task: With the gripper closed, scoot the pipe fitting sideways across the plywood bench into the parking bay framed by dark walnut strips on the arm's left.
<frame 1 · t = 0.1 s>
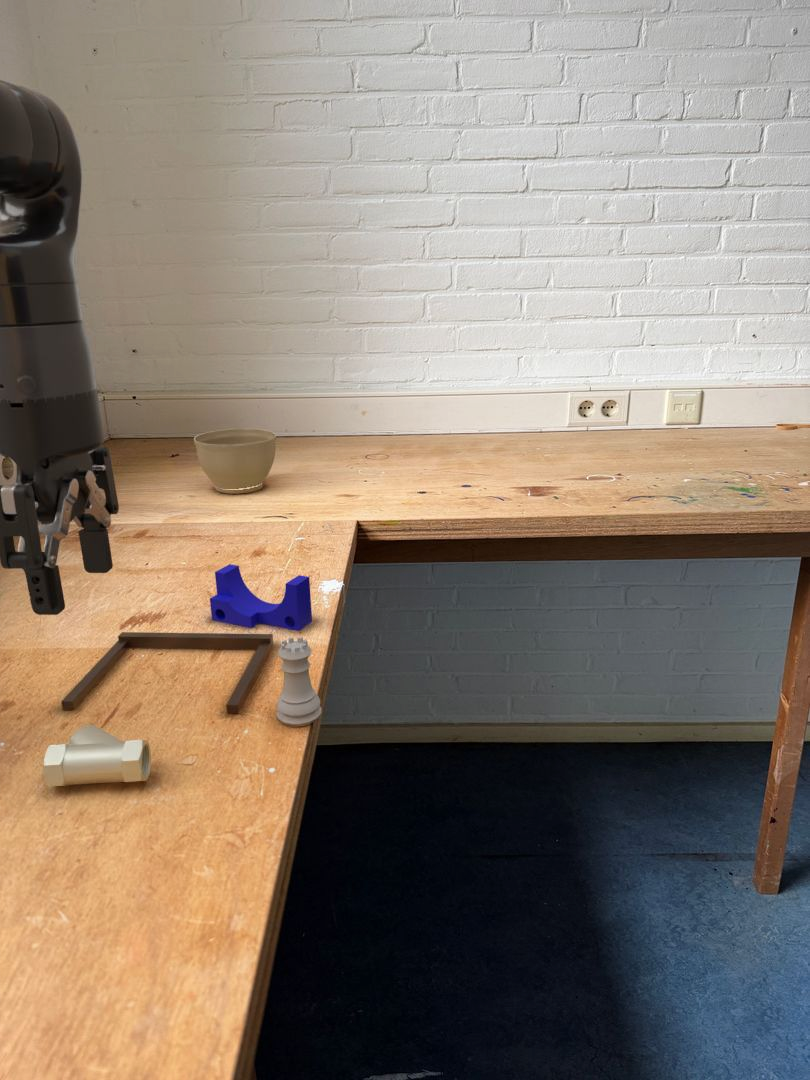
hand: (76, 591, 64), 18 cm above the table, tool pointing down, fingers open, 8 cm apart
rook chess piece: (299, 717, 79), on the table
planter bowl: (240, 489, 162), on the table
pipe fitting: (107, 772, 71), on the table
blue saddle bracket: (261, 622, 100), on the table
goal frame: (174, 678, 87), on the table
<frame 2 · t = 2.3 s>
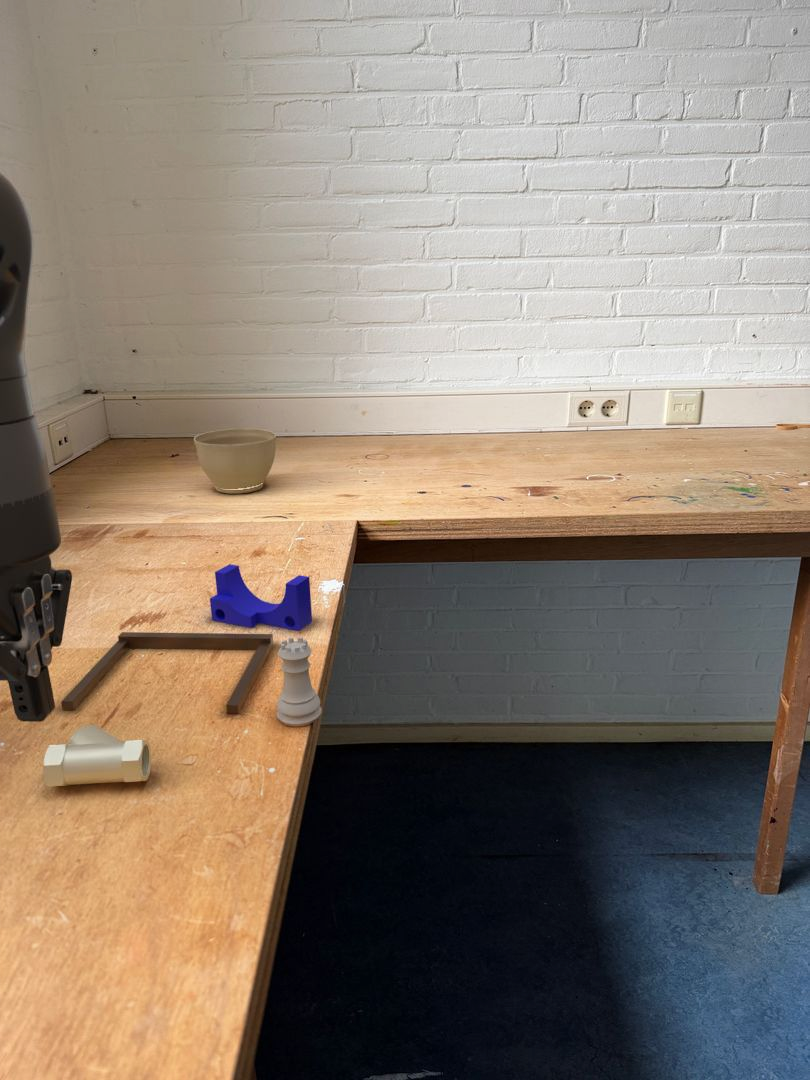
hand: (36, 716, 59), 11 cm above the table, tool pointing down, fingers closed
nothing on the table moved.
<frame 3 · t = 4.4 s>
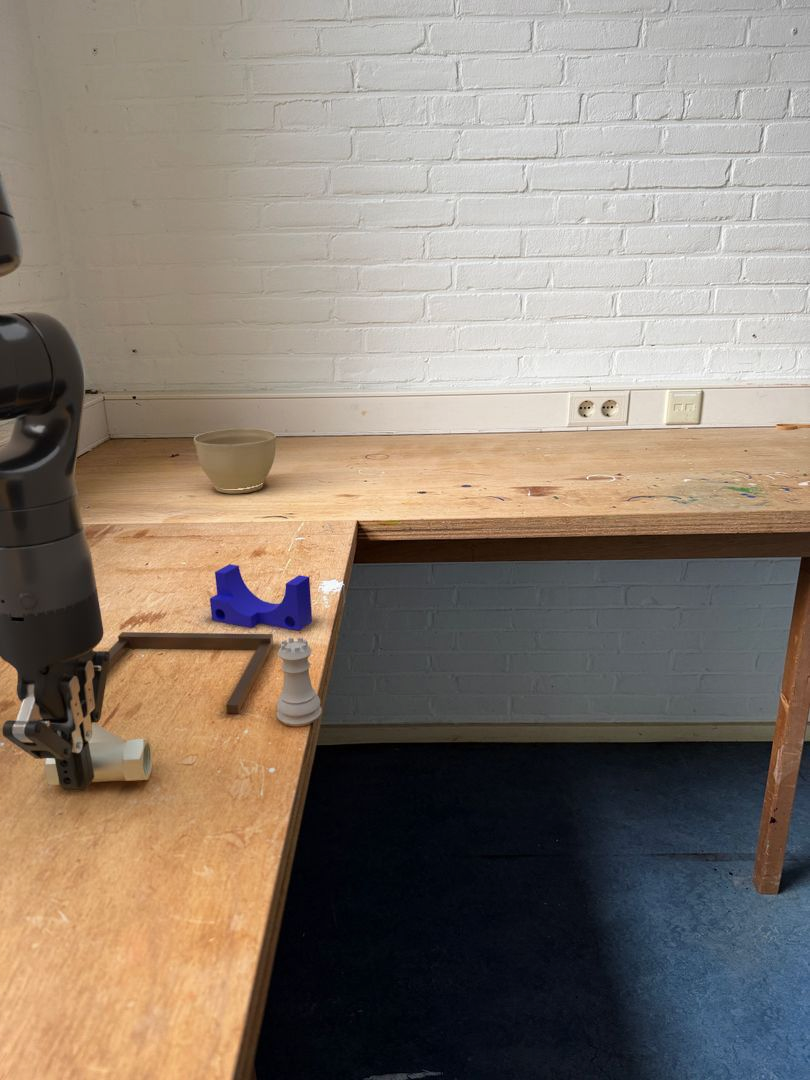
hand: (78, 785, 65), 2 cm above the table, tool pointing down, fingers closed
pipe fitting: (109, 771, 71), on the table, touching gripper
everything else where it was.
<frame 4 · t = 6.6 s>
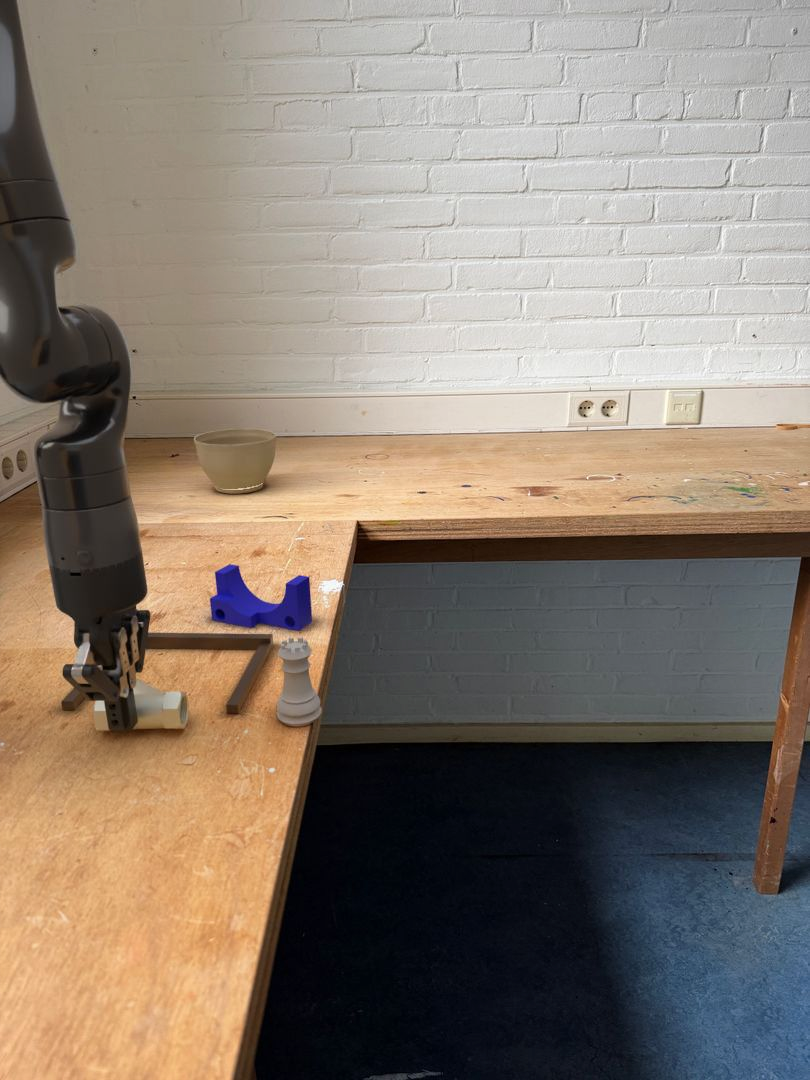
hand: (123, 728, 73), 2 cm above the table, tool pointing down, fingers closed
pipe fitting: (149, 721, 79), on the table, touching gripper
everything else where it was.
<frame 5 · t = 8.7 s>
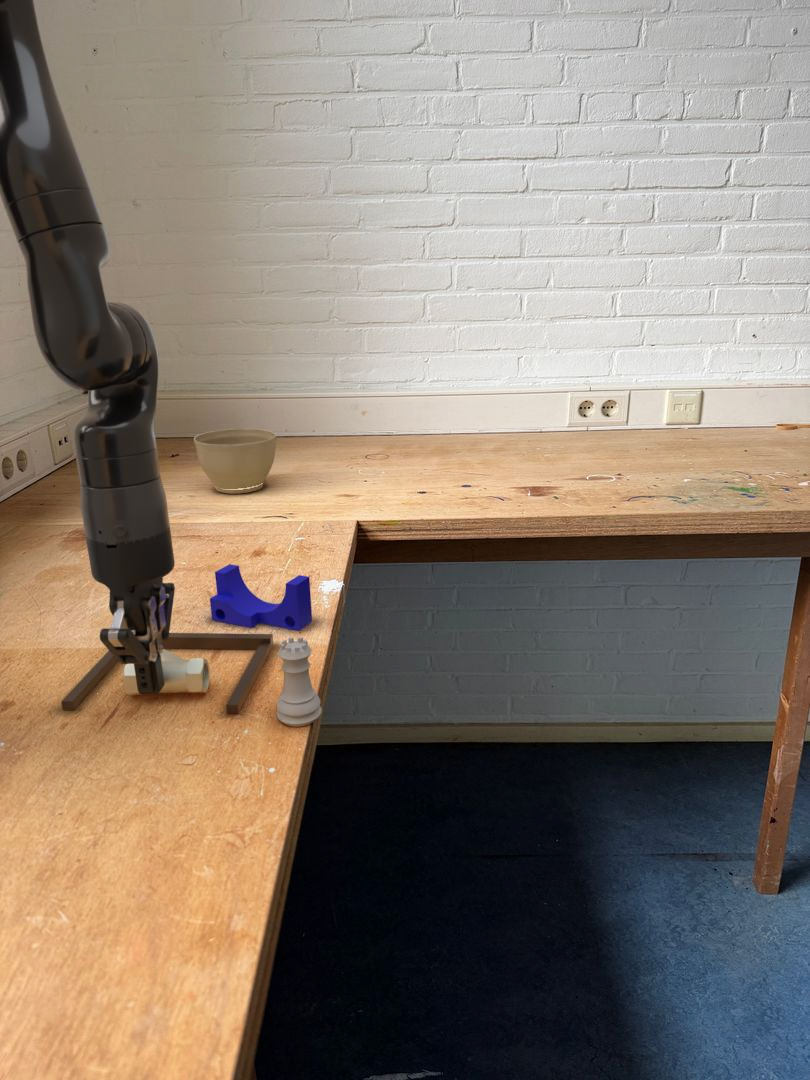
hand: (151, 690, 80), 2 cm above the table, tool pointing down, fingers closed
pipe fitting: (173, 687, 85), on the table, touching gripper
everything else where it was.
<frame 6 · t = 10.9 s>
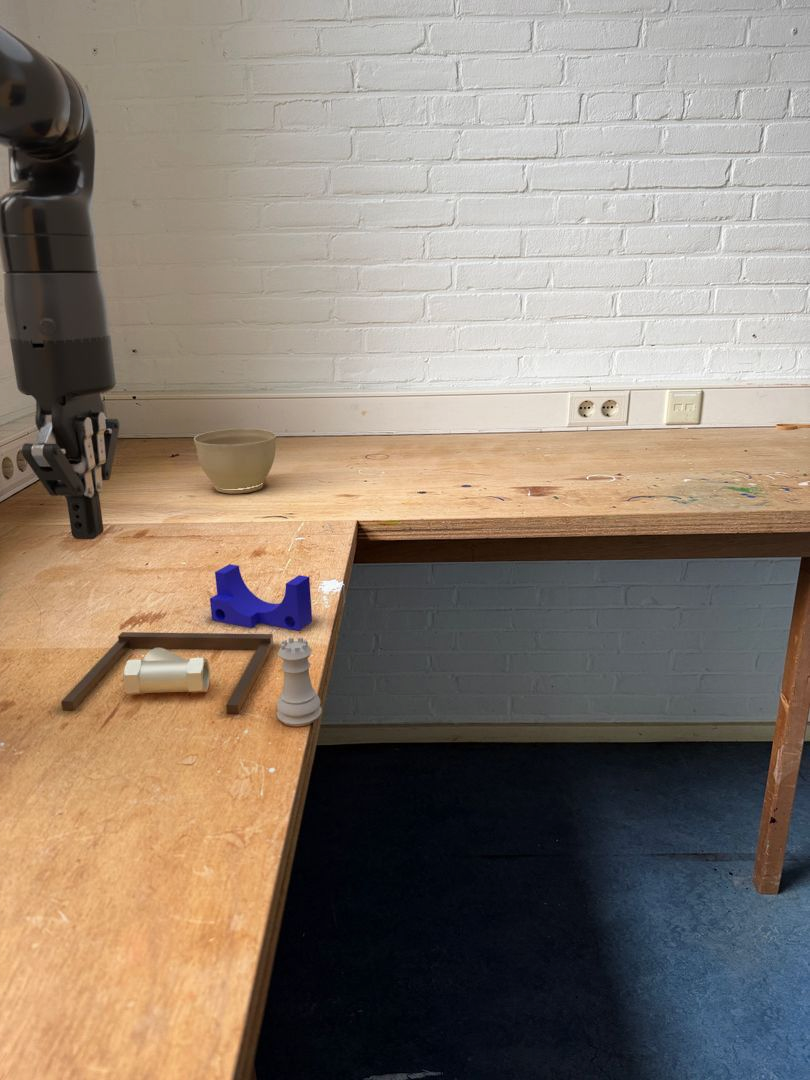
hand: (88, 536, 70), 20 cm above the table, tool pointing down, fingers closed
pipe fitting: (173, 686, 85), on the table
everything else where it was.
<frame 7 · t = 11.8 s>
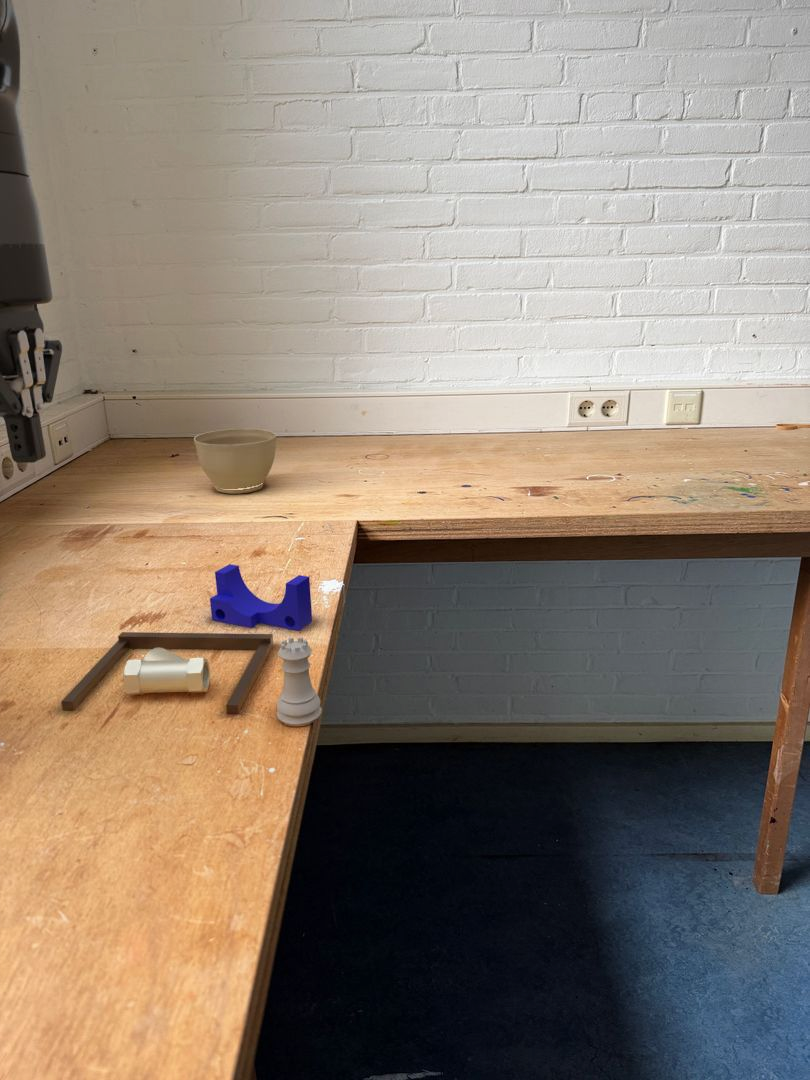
hand: (29, 460, 67), 27 cm above the table, tool pointing down, fingers closed
nothing on the table moved.
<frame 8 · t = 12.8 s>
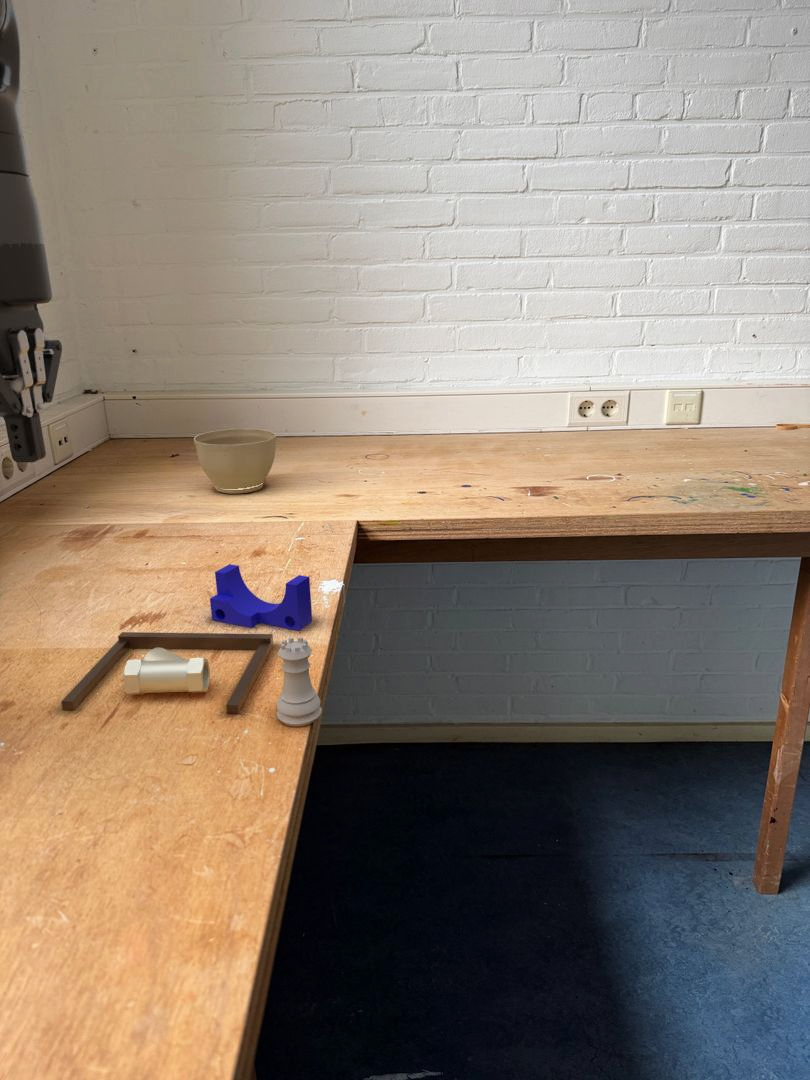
hand: (29, 460, 67), 27 cm above the table, tool pointing down, fingers closed
nothing on the table moved.
at the end: pipe fitting inside the target area (2.2 cm from its centre), on the table; the gripper is holding nothing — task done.
